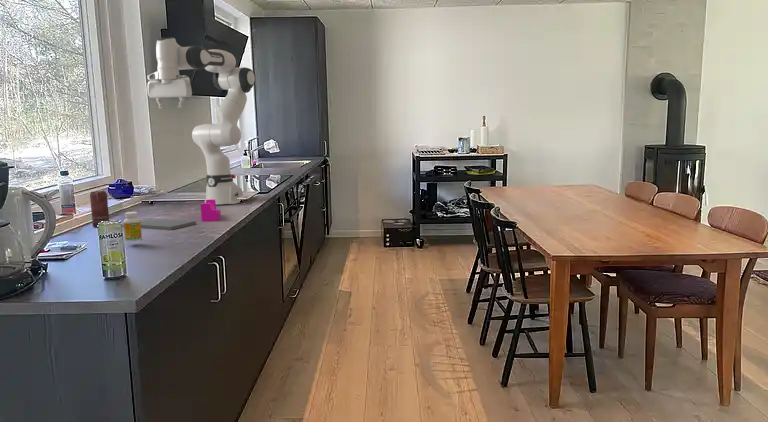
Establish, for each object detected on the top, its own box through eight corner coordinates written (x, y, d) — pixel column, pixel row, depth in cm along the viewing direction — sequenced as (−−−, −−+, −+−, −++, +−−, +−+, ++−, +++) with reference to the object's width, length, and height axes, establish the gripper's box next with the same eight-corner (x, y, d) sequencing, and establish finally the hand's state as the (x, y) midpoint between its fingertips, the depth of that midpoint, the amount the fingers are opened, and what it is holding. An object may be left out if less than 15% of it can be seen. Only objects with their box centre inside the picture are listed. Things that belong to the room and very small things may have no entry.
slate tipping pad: (150, 221, 242) (150, 218, 241) (195, 224, 232) (195, 221, 232) (123, 226, 229) (123, 223, 229) (170, 229, 220) (170, 226, 219)
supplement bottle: (131, 242, 197) (129, 214, 196) (121, 240, 200) (119, 213, 198) (145, 239, 201) (143, 212, 200) (135, 238, 204) (133, 211, 203)
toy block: (217, 221, 240) (216, 203, 239) (201, 222, 239) (200, 204, 238) (222, 215, 254) (221, 199, 253) (207, 216, 254) (206, 199, 252)
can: (92, 228, 227) (89, 192, 225) (92, 225, 232) (89, 191, 230) (109, 226, 229) (106, 191, 227) (109, 224, 235) (106, 190, 233)
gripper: (193, 75, 249) (195, 107, 251) (153, 77, 255) (156, 108, 257) (185, 74, 243) (187, 107, 245) (144, 76, 249) (146, 108, 251)
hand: (170, 108), depth 251 cm, fingers open, 8 cm apart
